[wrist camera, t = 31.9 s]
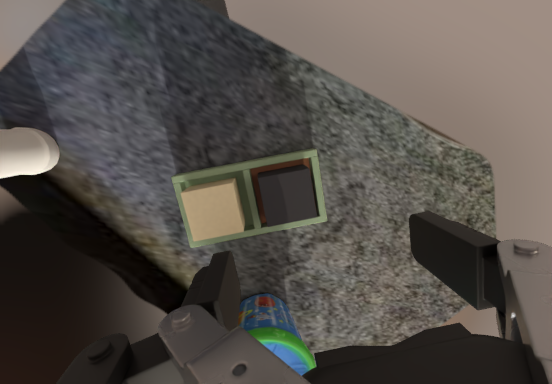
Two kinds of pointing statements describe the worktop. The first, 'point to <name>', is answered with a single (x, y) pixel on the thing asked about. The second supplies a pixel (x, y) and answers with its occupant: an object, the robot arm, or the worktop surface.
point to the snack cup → (275, 330)
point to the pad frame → (253, 191)
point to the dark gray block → (287, 195)
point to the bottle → (26, 152)
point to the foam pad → (214, 209)
